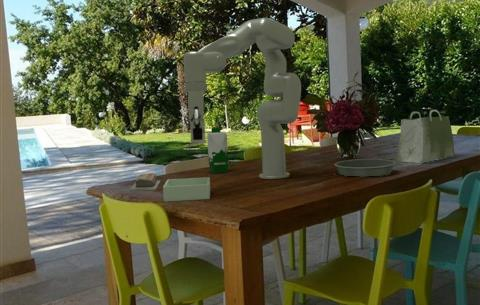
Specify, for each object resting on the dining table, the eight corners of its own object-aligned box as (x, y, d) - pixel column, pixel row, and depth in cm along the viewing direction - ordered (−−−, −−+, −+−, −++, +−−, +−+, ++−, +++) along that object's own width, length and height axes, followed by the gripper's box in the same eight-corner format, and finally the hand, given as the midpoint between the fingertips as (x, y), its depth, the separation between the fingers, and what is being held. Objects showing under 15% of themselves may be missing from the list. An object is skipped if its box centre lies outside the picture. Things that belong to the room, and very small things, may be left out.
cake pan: (356, 167, 235) (355, 157, 235) (407, 171, 218) (407, 160, 217) (322, 175, 218) (322, 164, 218) (375, 180, 201) (375, 168, 200)
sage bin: (168, 192, 197) (167, 179, 196) (210, 190, 197) (209, 177, 196) (163, 201, 181) (162, 187, 180) (209, 198, 182) (208, 184, 181)
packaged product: (135, 173, 221) (159, 171, 222) (136, 184, 222) (160, 183, 222) (129, 180, 203) (155, 178, 204) (130, 192, 204) (156, 191, 204)
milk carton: (226, 169, 246) (224, 126, 244) (230, 172, 238) (228, 128, 235) (208, 171, 245) (205, 128, 242) (211, 174, 236) (208, 129, 233)
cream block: (191, 142, 191) (190, 120, 190) (205, 142, 191) (204, 120, 190) (191, 144, 186) (189, 121, 185) (205, 143, 186) (204, 120, 185)
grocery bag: (428, 154, 263) (427, 107, 261) (455, 156, 253) (455, 107, 250) (393, 163, 242) (392, 112, 239) (422, 165, 232) (421, 111, 229)
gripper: (186, 88, 195) (188, 137, 197) (183, 87, 178) (186, 141, 180) (206, 87, 195) (208, 136, 197) (206, 86, 178) (208, 140, 180)
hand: (198, 138), depth 188 cm, fingers closed on cream block, 5 cm apart
